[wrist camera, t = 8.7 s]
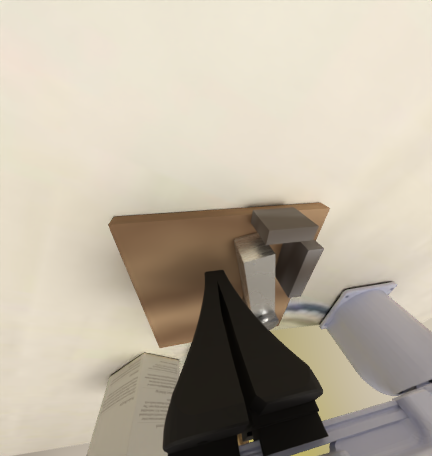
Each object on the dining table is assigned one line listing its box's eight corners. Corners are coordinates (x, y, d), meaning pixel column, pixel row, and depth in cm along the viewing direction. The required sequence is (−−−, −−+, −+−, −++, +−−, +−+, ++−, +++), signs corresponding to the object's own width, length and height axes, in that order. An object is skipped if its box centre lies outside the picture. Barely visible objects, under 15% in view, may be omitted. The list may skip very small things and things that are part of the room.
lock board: (274, 318, 22) (288, 347, 19) (160, 338, 20) (156, 375, 17) (321, 199, 12) (363, 221, 10) (112, 212, 10) (84, 247, 7)
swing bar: (265, 299, 17) (278, 327, 15) (243, 305, 17) (253, 334, 15) (262, 230, 12) (281, 256, 9) (230, 239, 12) (242, 268, 9)
